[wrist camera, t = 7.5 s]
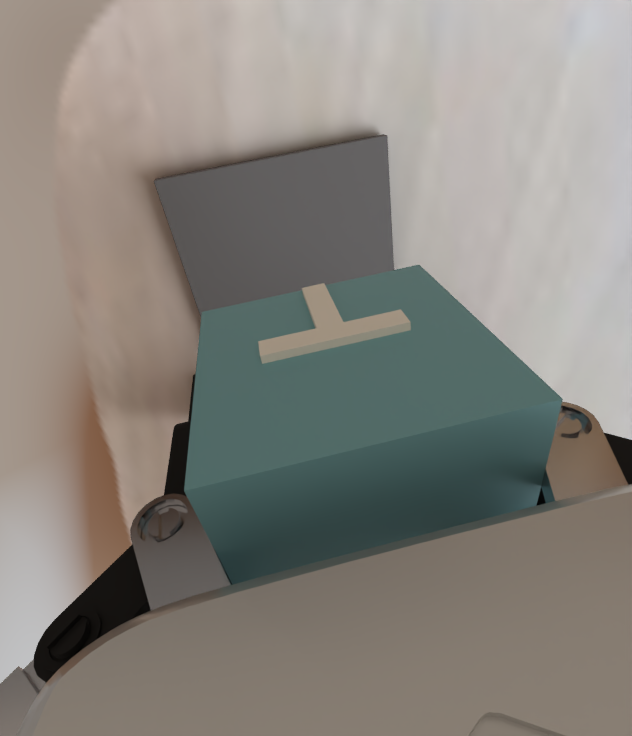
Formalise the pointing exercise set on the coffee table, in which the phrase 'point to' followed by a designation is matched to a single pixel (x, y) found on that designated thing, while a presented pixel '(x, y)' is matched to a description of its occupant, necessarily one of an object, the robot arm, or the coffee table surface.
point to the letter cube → (357, 422)
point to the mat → (282, 222)
